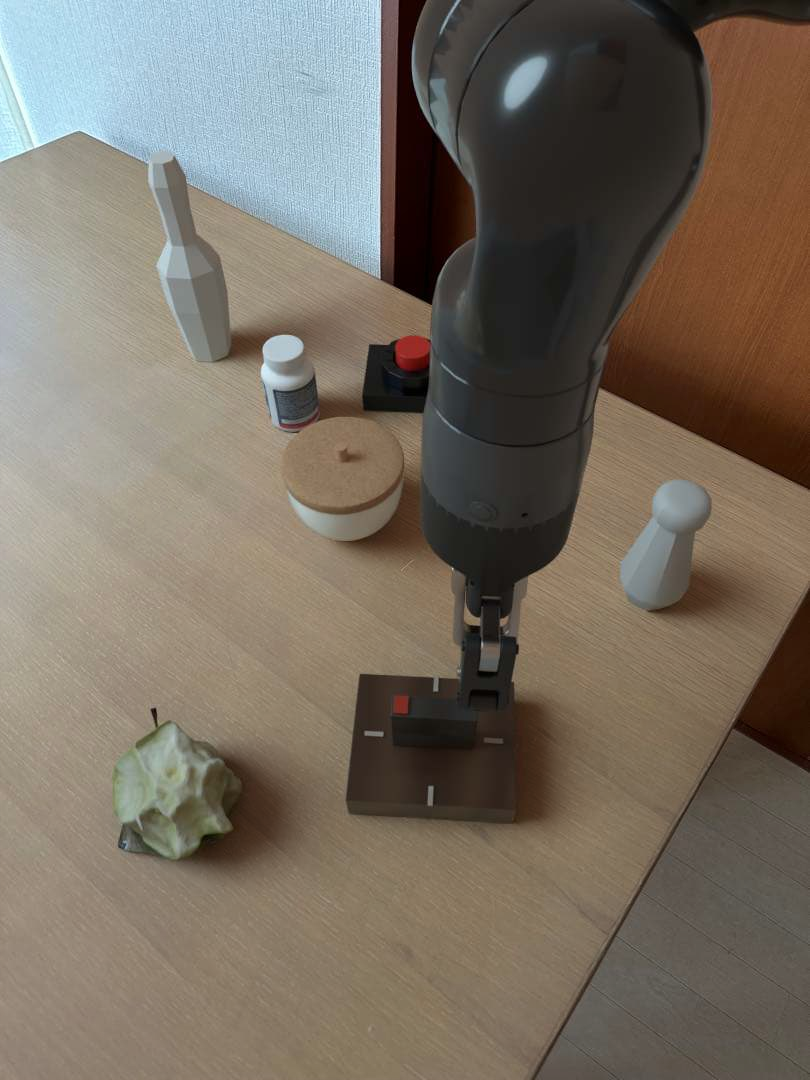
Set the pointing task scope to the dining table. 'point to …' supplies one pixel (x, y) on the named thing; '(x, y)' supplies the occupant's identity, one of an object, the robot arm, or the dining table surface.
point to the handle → (432, 723)
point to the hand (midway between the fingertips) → (478, 639)
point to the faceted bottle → (189, 266)
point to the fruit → (172, 794)
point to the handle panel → (429, 760)
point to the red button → (412, 353)
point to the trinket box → (344, 477)
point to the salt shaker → (665, 546)
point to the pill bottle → (289, 384)
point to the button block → (392, 382)
